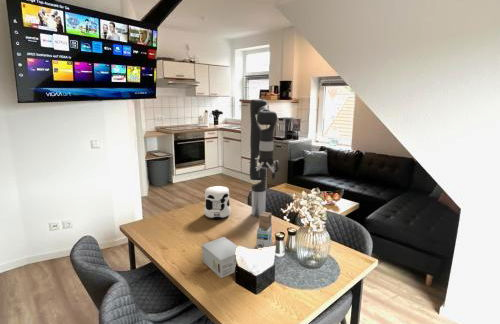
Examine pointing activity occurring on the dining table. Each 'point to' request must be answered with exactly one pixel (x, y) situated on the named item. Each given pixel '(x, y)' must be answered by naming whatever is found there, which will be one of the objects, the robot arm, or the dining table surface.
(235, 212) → the dining table surface
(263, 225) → the walnut block
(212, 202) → the milk container
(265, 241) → the light bulb box
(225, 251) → the supplement box
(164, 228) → the dining table surface
